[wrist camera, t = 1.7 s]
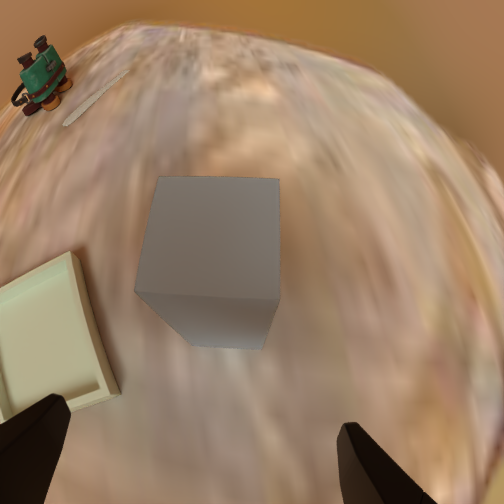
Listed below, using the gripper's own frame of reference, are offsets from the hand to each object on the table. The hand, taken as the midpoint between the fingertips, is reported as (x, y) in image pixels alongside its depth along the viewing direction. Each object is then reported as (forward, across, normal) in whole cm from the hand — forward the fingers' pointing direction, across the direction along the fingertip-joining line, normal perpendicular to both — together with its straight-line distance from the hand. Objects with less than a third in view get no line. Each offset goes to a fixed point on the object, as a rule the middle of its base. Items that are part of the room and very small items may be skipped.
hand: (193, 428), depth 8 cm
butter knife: (+39, +18, -20) cm, 47 cm away
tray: (+11, +16, +7) cm, 20 cm away
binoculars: (+35, +32, -16) cm, 50 cm away
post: (+14, 0, +4) cm, 15 cm away
